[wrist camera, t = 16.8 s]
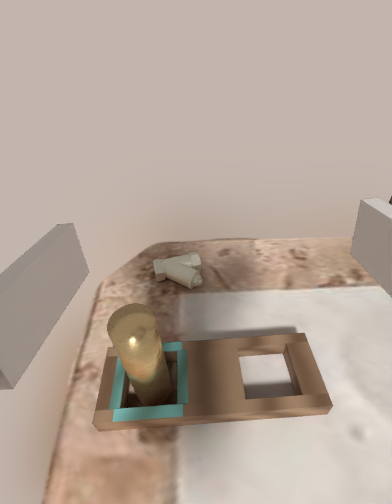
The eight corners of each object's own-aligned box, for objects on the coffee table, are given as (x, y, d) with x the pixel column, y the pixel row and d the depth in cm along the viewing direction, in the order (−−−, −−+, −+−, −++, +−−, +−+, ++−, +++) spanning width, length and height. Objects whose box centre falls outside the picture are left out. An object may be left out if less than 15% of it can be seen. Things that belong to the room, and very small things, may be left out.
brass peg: (171, 369, 37) (156, 301, 28) (171, 404, 33) (153, 341, 24) (138, 371, 37) (111, 305, 28) (134, 407, 33) (102, 345, 24)
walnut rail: (300, 343, 39) (304, 331, 37) (327, 414, 32) (333, 404, 30) (112, 357, 38) (107, 346, 37) (98, 431, 32) (91, 423, 30)
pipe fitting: (206, 290, 48) (197, 262, 52) (206, 275, 45) (196, 247, 49) (160, 300, 46) (154, 270, 51) (157, 286, 44) (151, 256, 48)
